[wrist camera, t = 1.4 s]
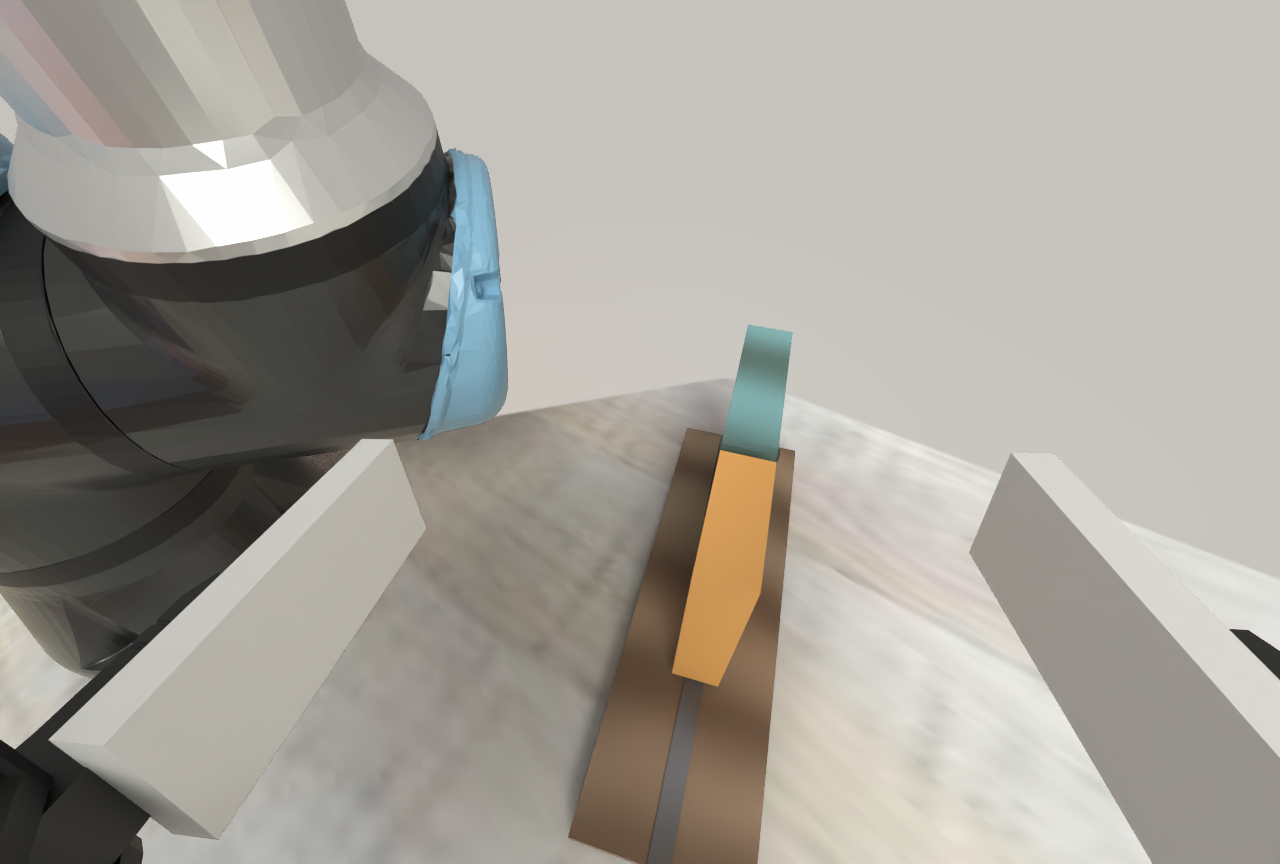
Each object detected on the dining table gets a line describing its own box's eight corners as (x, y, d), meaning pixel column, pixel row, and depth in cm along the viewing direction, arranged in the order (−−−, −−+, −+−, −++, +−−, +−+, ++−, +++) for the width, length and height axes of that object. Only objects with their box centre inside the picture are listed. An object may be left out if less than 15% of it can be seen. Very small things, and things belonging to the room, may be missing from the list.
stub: (717, 686, 25) (760, 593, 17) (671, 673, 26) (692, 575, 18) (735, 580, 29) (776, 462, 21) (694, 569, 30) (720, 449, 22)
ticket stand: (746, 904, 21) (843, 919, 12) (570, 839, 23) (529, 806, 13) (790, 463, 38) (845, 320, 28) (685, 441, 39) (704, 296, 29)
